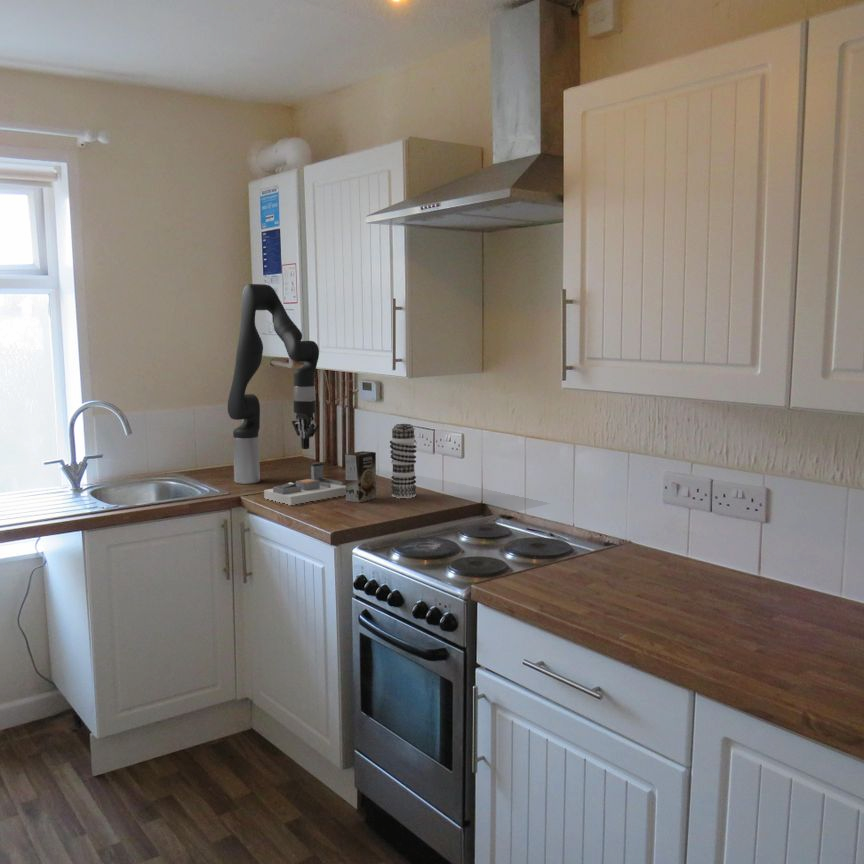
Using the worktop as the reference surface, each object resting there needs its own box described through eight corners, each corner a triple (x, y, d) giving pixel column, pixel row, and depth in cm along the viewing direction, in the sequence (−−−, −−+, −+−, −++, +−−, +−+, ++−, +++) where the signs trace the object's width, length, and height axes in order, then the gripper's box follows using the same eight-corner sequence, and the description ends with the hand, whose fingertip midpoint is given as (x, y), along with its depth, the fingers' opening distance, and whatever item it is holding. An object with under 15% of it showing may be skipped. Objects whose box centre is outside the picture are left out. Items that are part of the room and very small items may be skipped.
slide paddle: (310, 482, 305) (310, 463, 304) (320, 480, 308) (320, 462, 307) (313, 483, 303) (313, 464, 302) (323, 481, 306) (323, 462, 305)
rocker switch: (277, 490, 289) (277, 486, 289) (290, 485, 292) (289, 481, 292) (283, 491, 286) (283, 488, 286) (296, 486, 290) (295, 483, 289)
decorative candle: (388, 493, 299) (388, 423, 296) (415, 492, 301) (414, 422, 298) (392, 499, 290) (391, 426, 287) (418, 498, 292) (418, 425, 289)
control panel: (264, 498, 293) (263, 483, 292) (323, 488, 310) (322, 473, 309) (291, 505, 281) (290, 489, 281) (350, 494, 299) (350, 479, 298)
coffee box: (359, 503, 285) (358, 455, 283) (345, 500, 289) (344, 453, 287) (377, 498, 292) (376, 451, 290) (363, 496, 296) (362, 450, 294)
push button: (299, 487, 295) (299, 480, 295) (309, 485, 298) (308, 479, 298) (306, 489, 292) (306, 482, 292) (315, 487, 295) (315, 480, 295)
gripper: (284, 398, 296) (285, 447, 298) (306, 401, 286) (307, 452, 289) (302, 396, 301) (303, 445, 303) (324, 399, 291) (325, 449, 294)
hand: (305, 448), depth 296 cm, fingers closed
